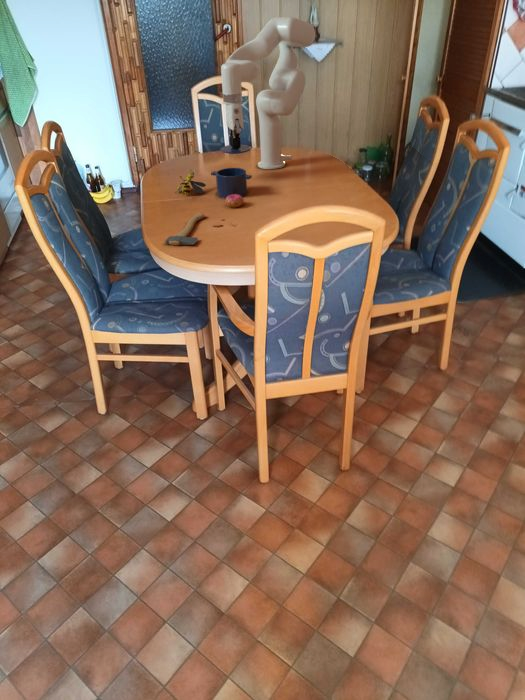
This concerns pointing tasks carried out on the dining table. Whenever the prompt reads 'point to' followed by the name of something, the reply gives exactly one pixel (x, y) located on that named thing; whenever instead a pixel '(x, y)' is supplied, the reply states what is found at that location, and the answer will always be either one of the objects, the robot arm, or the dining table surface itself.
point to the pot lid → (231, 150)
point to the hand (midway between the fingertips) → (235, 146)
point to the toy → (187, 188)
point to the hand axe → (185, 233)
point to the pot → (231, 181)
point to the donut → (234, 200)
